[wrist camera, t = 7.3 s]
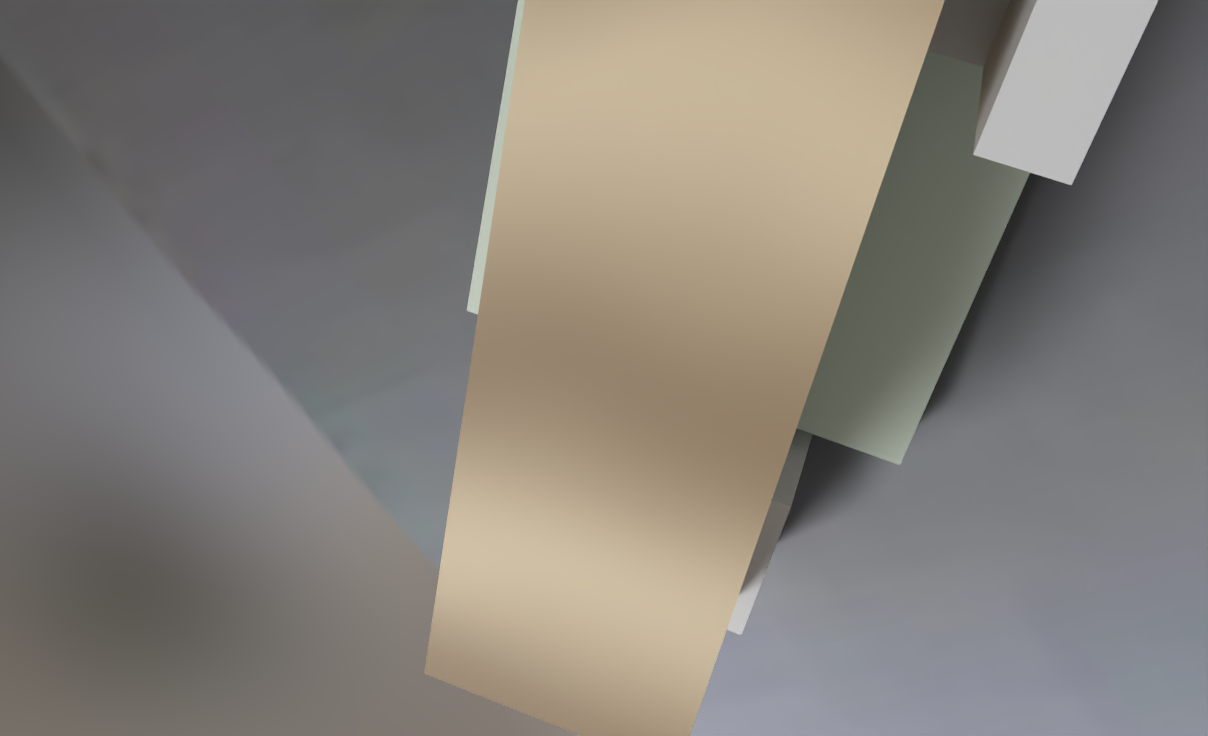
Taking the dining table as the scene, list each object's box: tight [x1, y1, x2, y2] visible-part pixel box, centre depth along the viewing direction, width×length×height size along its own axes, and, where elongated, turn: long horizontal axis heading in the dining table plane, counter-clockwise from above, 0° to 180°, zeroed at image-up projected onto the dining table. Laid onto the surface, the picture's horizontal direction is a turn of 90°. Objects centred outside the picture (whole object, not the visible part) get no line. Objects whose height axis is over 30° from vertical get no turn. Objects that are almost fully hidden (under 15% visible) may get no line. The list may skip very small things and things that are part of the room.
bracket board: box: [467, 0, 1158, 635], centre depth 16 cm, size 15×8×6 cm, turn 168°
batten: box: [424, 0, 945, 736], centre depth 15 cm, size 12×4×4 cm, turn 169°
